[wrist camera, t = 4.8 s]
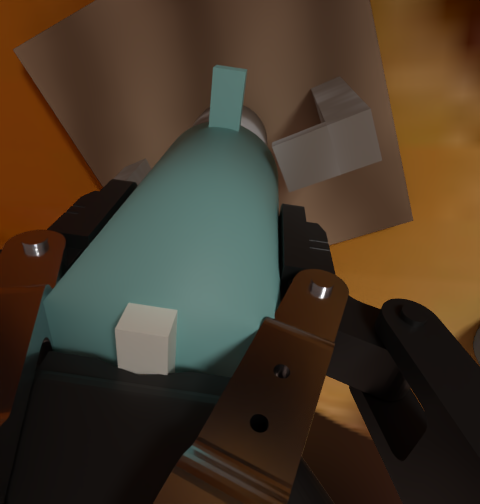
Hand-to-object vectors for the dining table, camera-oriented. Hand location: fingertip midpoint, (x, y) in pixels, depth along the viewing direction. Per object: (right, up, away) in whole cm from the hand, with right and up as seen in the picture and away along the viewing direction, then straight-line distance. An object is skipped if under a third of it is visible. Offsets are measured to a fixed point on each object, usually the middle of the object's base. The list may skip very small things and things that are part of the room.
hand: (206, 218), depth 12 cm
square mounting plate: (+1, +5, +8) cm, 10 cm away
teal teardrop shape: (0, +2, +3) cm, 4 cm away
